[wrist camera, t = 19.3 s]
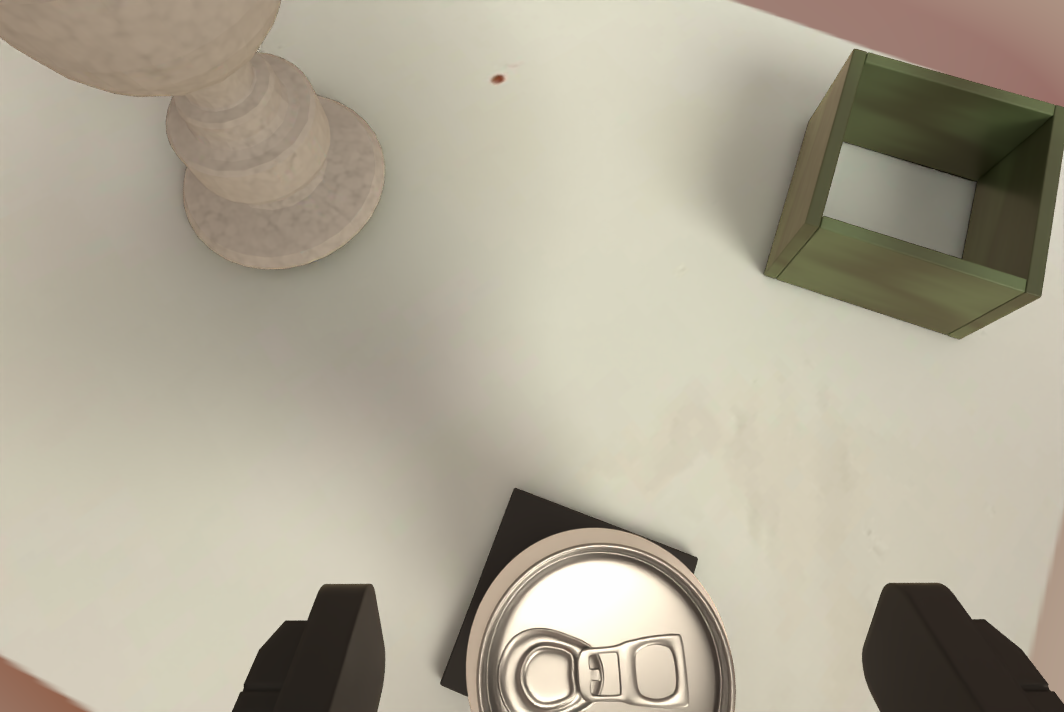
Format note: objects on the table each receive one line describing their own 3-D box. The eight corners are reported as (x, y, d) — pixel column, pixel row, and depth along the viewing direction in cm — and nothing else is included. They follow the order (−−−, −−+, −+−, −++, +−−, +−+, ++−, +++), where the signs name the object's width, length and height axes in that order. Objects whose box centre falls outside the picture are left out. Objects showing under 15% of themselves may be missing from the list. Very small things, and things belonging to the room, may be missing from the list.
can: (490, 542, 26) (453, 530, 15) (648, 534, 26) (733, 515, 15) (496, 720, 24) (458, 864, 13) (666, 711, 24) (780, 847, 13)
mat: (695, 558, 27) (698, 558, 26) (635, 764, 24) (637, 769, 24) (514, 488, 28) (514, 487, 27) (441, 681, 25) (439, 685, 25)
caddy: (991, 175, 32) (1070, 108, 27) (959, 340, 29) (1041, 297, 25) (808, 121, 33) (854, 47, 28) (763, 275, 30) (804, 222, 26)
